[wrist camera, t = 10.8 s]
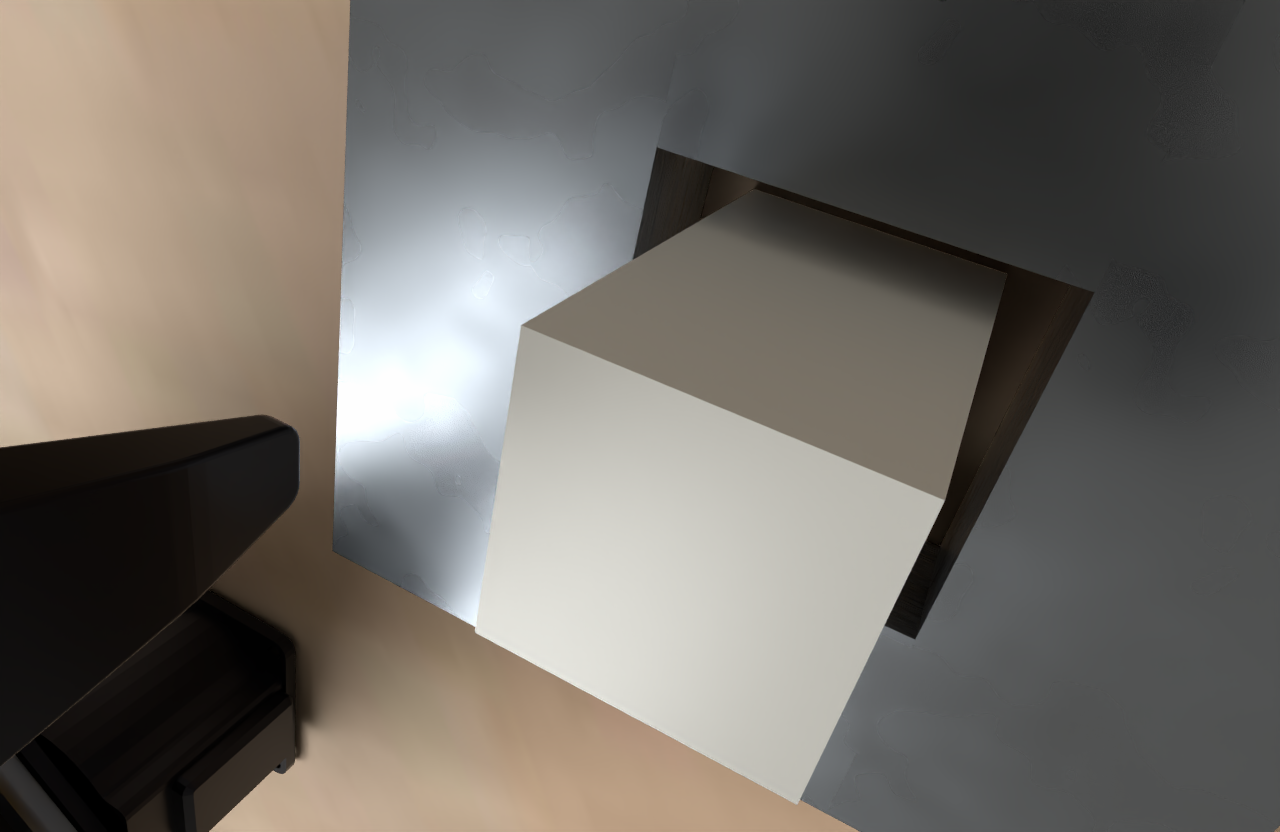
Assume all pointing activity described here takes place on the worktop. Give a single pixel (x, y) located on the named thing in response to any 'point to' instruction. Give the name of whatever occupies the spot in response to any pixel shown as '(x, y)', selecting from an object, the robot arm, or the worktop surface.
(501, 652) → the worktop surface
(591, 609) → the white rectangular block
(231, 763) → the robot arm
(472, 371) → the jig plate
